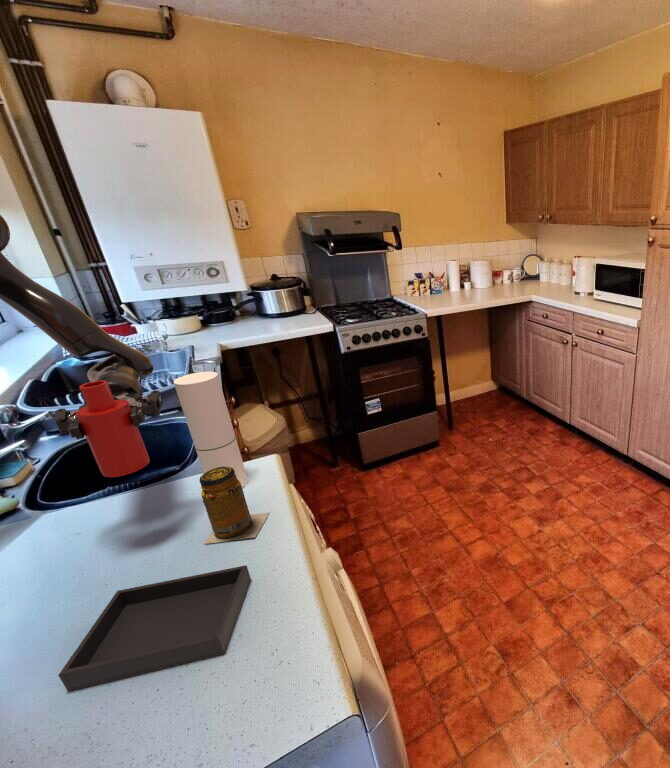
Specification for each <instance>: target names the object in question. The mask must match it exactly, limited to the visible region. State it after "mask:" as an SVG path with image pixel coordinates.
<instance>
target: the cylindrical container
mask: <svg viewBox="0 0 670 768" xmlns="http://www.w3.org/2000/svg"><path fill="white" fill-rule="evenodd" d="M220 381H221V380H220V377H219V375H218V373H217V372H215V371H198V372H193V373H189V374H185V375H182V376H179V377H178V378H176V379H174V380H173V385H174V388H175V391H176V394H177V397H178V400H179V403H180V406H181V410H182V413H183V415H184V419H185V421H186V424H187V428H188V431H189V433H190V436H191V439H192V442H193V446H194V449H195V452H196V455H197V458H198V462H199V464H200V468H201V470H202V474H204V473H205V472H207V471H209V470H211V469H214V468H218V467H223V466H226V467H231V468H233V469H234V471H235V475H236V477H237V479H238V480H239V481H240V483H241V486H242V489H244V488H245V487H246V486H247V485H248V483H249V479H248V475H247V471H246V468H245V464H244V461H243V457H242V454H241V451H240V448H239V444H238V440H237V436H236V433H235V430H234V427H233V423H232V420H231V416H230V413H229V409H228V406H227V402H226V399H225V396H224V391H223V389H222V385H221V382H220ZM247 482H248V483H247ZM246 484H247V485H246ZM245 485H246V486H245ZM244 486H245V487H244ZM243 487H244V488H243Z"/></svg>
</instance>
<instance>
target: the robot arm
mask: <svg viewBox="0 0 670 768" xmlns="http://www.w3.org/2000/svg"><path fill="white" fill-rule="evenodd" d="M10 240H11V230H10V227H9V223H8V222H7V221H6V219H5V218H4V217H3V215H1V214H0V300H1V301H2V302H5V304H6V305H8V306H10V307H11V308H12V309H14V310H15V311H16V312H18V313H19V314H20V315H22V316H23V317H24V318H26V319H27V320H28V321H30V322H31V323H32V324H33V325H35V326H36V327H37V328H38V329H40V330H41V331H42V332H43V333H44V334H45V335H46V336H48V337H49V338H51V339H52V340H53V341H54V342H55V343H56V344H58V345H59V346H60V347H62V348H63V349H64V350H65V351H66V352H68V353H69V354H70V355H71V356H74V357H77V358H81V357H86V356H89V355H92V354H95V353H99V352H105V353H110V354H112V355H109V356H108V357H107V358H105V359H103V360H102V361H100V362H98V363H96V364H95V365H93V366H92V367H91V368H90V369H88V371H87V373H86V375H87V379H88V381H89V382H93V381H101V380H104V381H107V383H108V385H109V388H110V390H111V393H112V396H113V398H114V400H126V401H128V403H129V405H130V408H131V413H130V416H131V419H132V422H133V424H134V426H135V427H136V426H138V427H140V426H141V423H144V422H145V421H146V418H147V417H148V415H149V414H150V415H152V416H154V415H155V416H156V415H158V414H160V413H161V411H162V408H163V406H164V401H163V398H162V395H161V392H160V390H152V391H150V393H149V394H146V396H144V391H143V387H142V381H143V380H144V379H146V378H147V377H149V376H150V375H152V373H153V371H154V364H153V362H152V360H151V359H150V358H149V357H148V356H147V355H145V354H144V353H142V352H141V351H139V350H137V349H136V348H134V347H131V346H130V345H128V344H126V343H124V342H122V341H120V340H119V339H117V338H115V337H114V336H113V335H111V334H109V333H108V332H107V331H105V330H104V329H103V328H102V327H101V326H99V325H98V324H97V323H96V322H95V321H94V320H93V319H92V318H91V317H90V316H89V315H87V313H85V312H84V311H83V310H81V309H80V308H79V307H78V306H77V305H75V304H74V303H72V302H70V301H69V300H68V299H66V298H65V297H63V296H62V295H59V294H58V293H56V292H54V291H52V290H50V289H48V288H46V287H45V286H43V285H41V284H40V283H38V282H36V280H33V279H32V278H30V277H29V276H27V274H24V272H22V271H21V270H20V269H19V268H17V267H16V266H15V265H14V264H13V263H12V262H11V261H10V260H9V259H8V258H7V257H6V256H5V255H4V254H3V253H2V252H3V251H4V250H5V249H6V248H7V247H8V245H9V242H10ZM84 407H87V404H86V402H85V399H84V400H83V404H82V405H79V407H78V409H76V410H71V411H70V409H66V408H58V409H55V412H54V422H55V424H56V427H57V429H58V431H59V433H60V435H68V434H69V435H70V438H72V439H73V438H74V439H76V440H81V439H85V437H86V436H85V434H84V432H83V429H82V427H81V425H80V423H79V420H78V418H77V416H76V413H77V411H79V410H80V409H82V408H84Z"/></svg>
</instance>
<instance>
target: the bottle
mask: <svg viewBox="0 0 670 768" xmlns="http://www.w3.org/2000/svg"><path fill="white" fill-rule="evenodd" d="M79 390H80V392H81V395H82V397H83V399H84V400H85V402H86V404H87V407H84V408H82V409H80V410H79V411H77V413H76V416H77V418H78V420H79V423H80V425H81V427H82V429H83V432H84V434H85V436H84V437H85V439H86V441H87V443H88V446H89V448H90V450H91V452H92V455H93V457H94V459H95V462H96V464H97V467H98V469H99V471H100V473H101V476H103V477H106V478H118V477H123V476H126V475H130V474H133V473H135V472H138V471H140V470H142V469H144V468H145V467H146V466H148V465H149V464H150V462H151V460H150V456H149V453H148V451H147V450H148V449H147V448H146V446H145V443H144V442H145V441H144V440H143V437H142V434H141V432H140V429H139V426H136V427H135V426H134V424H133V422H132V419H131V416H130V413H131V408H130V405H129V403H128V401H126V400H114V398H113V396H112V393H111V390H110V388H109V385H108V383H107V381H104V380H101V381H93V382H90V381H89V382H85V383H83V384H81V385H79Z"/></svg>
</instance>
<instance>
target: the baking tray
mask: <svg viewBox="0 0 670 768" xmlns="http://www.w3.org/2000/svg"><path fill="white" fill-rule="evenodd" d="M251 581H252V578H251V575H250V572H249V568H248V566H247V565H240V566H235V567H231V568H226V569H221V570H216V571H215V570H214V571H211V572H205V573H200V574H195V575H191V576H190V575H189V576H185V577H180V578H174V579H170V580H164V581H159V582H153V583H150V584H144V585H139V586H135V587H130V588H124V589H119V590H117V591H116V592H115V593H114V595H113V597H111V599H110V600H109V601H108V604H107V605H106V606H105V607H104V609H103V610H102V612H101V613H100V615H99V617H98V618H97V619H96V621H95V622H94V624H93V625H92V626H91V628H90V629H89V631H88V632H87V633H86V635H85V636H84V638H83V639H82V641H81V642H80V644H79V645H78V646H77V648H76V649H75V651H74V652H73V653H72V655H71V656H70V657H69V659H68V661H67V662H66V664H65V665H64V666H63V667H62V669H61V671H60V672H59V673H58V678H59V679H60V682H61V683H62V684H63V686H64V687H65V690H66V691H67V692H73V691H77V690H81V689H85V688H89V687H94V686H98V685H102V684H107V683H111V682H115V681H119V680H122V679H127V678H132V677H136V676H140V675H144V674H148V673H152V672H157V671H160V670H165V669H169V668H173V667H177V666H181V665H186V664H189V663H193V662H197V661H202V660H207V659H209V658H214V657H218V656H222V655H225V654H226V652H227V648H228V646H229V643H230V640H231V638H232V635H233V632H234V629H235V627H236V623H237V621H238V618H239V615H240V612H241V610H242V606H243V604H244V600H245V599H246V595H247V592H248V590H249V586H250V584H251Z"/></svg>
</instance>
